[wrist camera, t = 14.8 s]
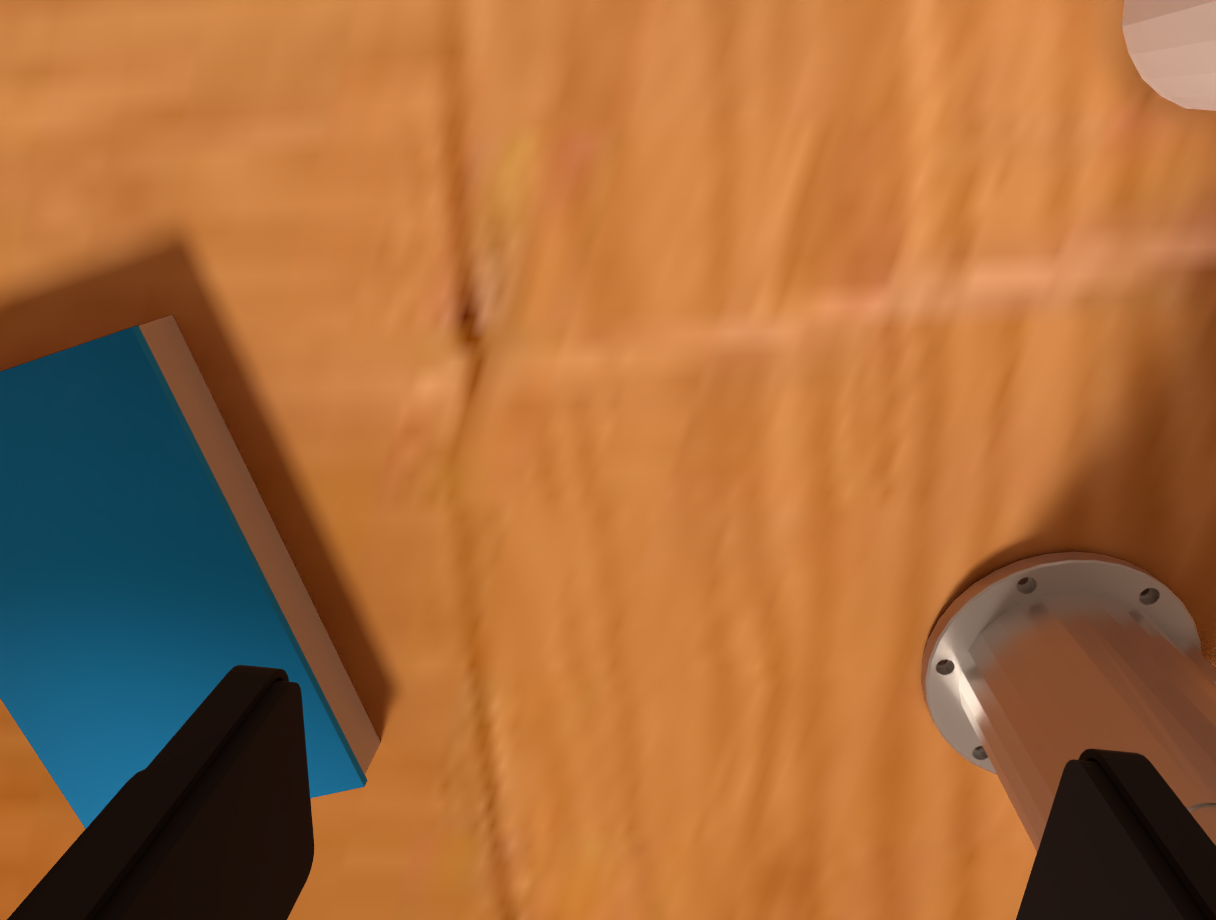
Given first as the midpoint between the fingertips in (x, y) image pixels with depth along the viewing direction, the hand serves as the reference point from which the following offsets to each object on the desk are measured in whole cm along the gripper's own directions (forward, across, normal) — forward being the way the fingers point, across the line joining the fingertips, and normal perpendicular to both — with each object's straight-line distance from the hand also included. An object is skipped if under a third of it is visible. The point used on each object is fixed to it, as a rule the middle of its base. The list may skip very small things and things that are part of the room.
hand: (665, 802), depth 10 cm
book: (+29, +26, +15) cm, 42 cm away
